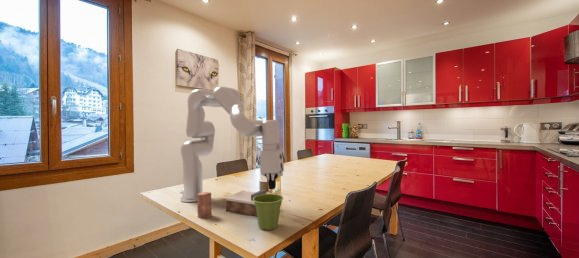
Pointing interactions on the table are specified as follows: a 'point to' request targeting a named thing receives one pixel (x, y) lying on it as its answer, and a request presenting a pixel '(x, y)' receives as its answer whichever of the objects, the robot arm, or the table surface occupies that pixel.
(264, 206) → the plant pot
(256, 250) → the table surface
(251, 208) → the toolbox
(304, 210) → the table surface
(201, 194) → the salmon orange block
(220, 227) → the table surface
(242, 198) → the toolbox lid
